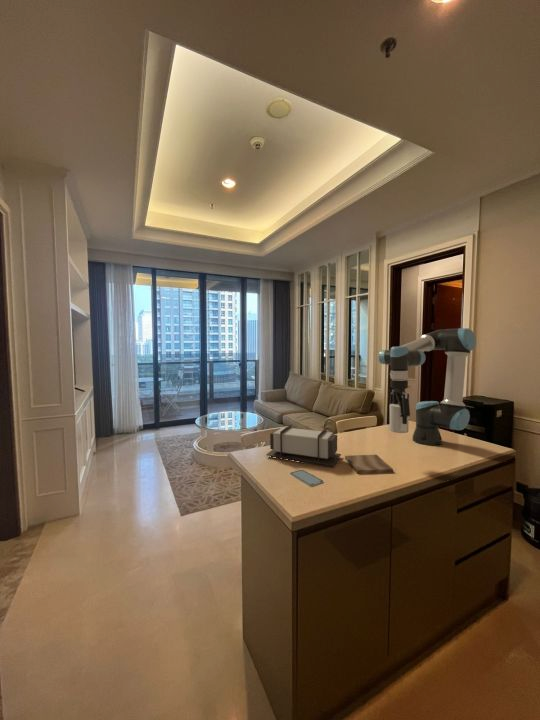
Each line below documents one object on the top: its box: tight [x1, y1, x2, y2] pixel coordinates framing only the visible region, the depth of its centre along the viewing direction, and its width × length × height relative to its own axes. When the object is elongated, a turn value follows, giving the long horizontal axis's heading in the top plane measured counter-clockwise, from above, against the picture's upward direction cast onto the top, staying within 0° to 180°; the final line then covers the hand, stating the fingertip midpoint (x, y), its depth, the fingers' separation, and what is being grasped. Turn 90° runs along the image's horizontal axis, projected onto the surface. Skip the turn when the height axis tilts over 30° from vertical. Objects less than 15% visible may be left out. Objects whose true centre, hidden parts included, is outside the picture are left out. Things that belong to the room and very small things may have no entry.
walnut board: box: [344, 454, 394, 475], centre depth 142 cm, size 16×18×2 cm
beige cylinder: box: [389, 403, 409, 434], centre depth 142 cm, size 8×8×12 cm
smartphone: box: [289, 469, 324, 487], centre depth 130 cm, size 7×1×15 cm
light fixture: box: [265, 424, 342, 468], centre depth 153 cm, size 15×15×35 cm
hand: (398, 427), depth 143 cm, fingers closed on beige cylinder, 8 cm apart
